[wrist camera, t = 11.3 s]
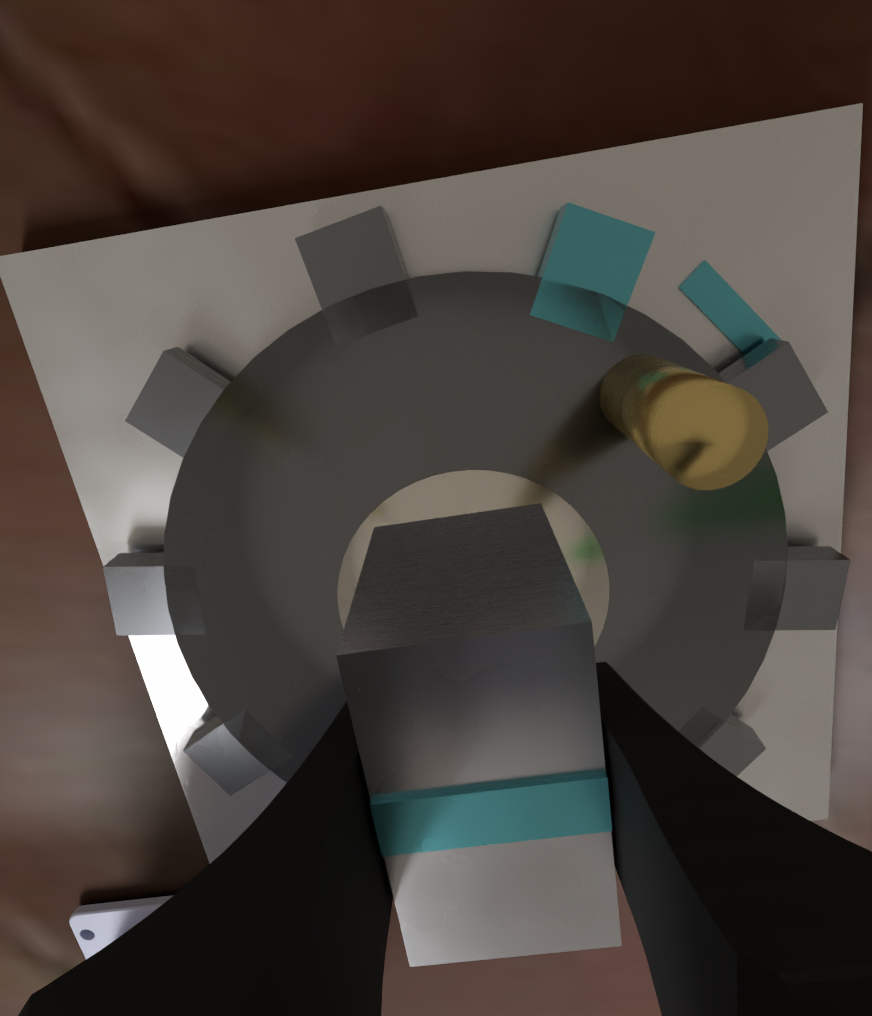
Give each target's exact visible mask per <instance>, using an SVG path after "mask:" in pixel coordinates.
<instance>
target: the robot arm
mask: <svg viewBox="0 0 872 1016" xmlns="http://www.w3.org/2000/svg"><path fill="white" fill-rule="evenodd" d="M596 671H597V682H598V693H599V704H600V715H601V726H602V736H603V747H604V758H605V769H606V775H607V778H608V789H609V800H610V811H611V822H612V831H611V834H612V845H613V856H614V865H615V868H616V870H617V873H618V876H619V879H620V881H621V884H622V887H623V890H624V893H625V895H626V898H627V901H628V904H629V906H630V909H631V912H632V915H633V917H634V920H635V923H636V926H637V929H638V932H639V935H640V938H641V941H642V944H643V947H644V951H645V954H646V957H647V961H648V965H649V968H650V972H651V976H652V980H653V983H654V987H655V991H656V995H657V998H658V1002H659V1006H660V1010H661V1014H662V1016H872V852H871V851H869V850H867V849H865V848H863V847H861V846H858V845H856V844H854V843H852V842H850V841H848V840H846V839H844V838H842V837H840V836H838V835H836V834H834V833H832V832H830V831H828V830H826V829H824V828H822V827H820V826H818V825H817V824H815V823H813V822H811V821H809V820H808V819H806V818H804V817H802V816H800V815H799V814H797V813H795V812H793V811H792V810H790V809H788V808H786V807H784V806H783V805H781V804H779V803H777V802H776V801H774V800H773V799H771V798H769V797H768V796H766V795H764V794H763V793H761V792H759V791H758V790H756V789H755V788H753V787H752V786H750V785H749V784H747V783H746V782H744V781H743V780H741V779H740V778H738V777H737V776H735V775H734V774H732V773H731V772H730V771H728V770H727V769H725V768H724V767H723V766H721V765H720V764H719V763H717V762H716V761H715V760H713V759H712V758H711V757H709V756H708V755H707V754H706V753H704V752H703V751H702V750H701V749H699V748H698V747H697V746H695V745H694V744H693V743H692V742H691V741H689V740H688V739H687V738H686V737H685V736H683V735H682V734H681V733H680V732H679V731H677V730H676V729H675V728H674V727H673V726H672V725H671V724H670V723H669V722H667V721H666V720H665V719H664V718H663V717H662V716H661V715H660V714H658V713H657V712H656V711H655V710H654V709H653V708H652V707H651V706H650V705H649V704H648V703H647V702H646V701H645V700H644V699H643V698H642V697H641V696H639V695H638V694H637V693H636V692H635V691H634V690H633V689H632V688H631V686H630V685H629V684H628V683H627V682H626V681H625V680H624V679H623V678H622V677H621V676H620V675H619V674H618V673H617V672H616V671H615V670H614V668H613V667H612V666H610V665H609V664H608V663H606V662H599V663H596ZM392 900H393V893H392V889H391V885H390V880H389V876H388V872H387V868H386V863H385V859H384V857H382V855H381V850H380V846H379V842H378V838H377V834H376V829H375V825H374V821H373V817H372V813H371V808H370V796H369V792H368V788H367V783H366V779H365V775H364V771H363V767H362V762H361V758H360V754H359V750H358V745H357V741H356V737H355V733H354V729H353V724H352V720H351V716H350V712H349V708H348V703H347V701H346V703H345V704H344V705H343V707H342V708H341V710H340V711H339V713H338V714H337V715H336V717H335V718H334V720H333V721H332V723H331V724H330V726H329V727H328V728H327V730H326V731H325V733H324V734H323V736H322V737H321V738H320V740H319V741H318V743H317V744H316V745H315V747H314V748H313V749H312V751H311V752H310V753H309V755H308V756H307V757H306V759H305V760H304V761H303V763H302V764H301V765H300V767H299V768H298V769H297V771H296V772H295V773H294V775H293V776H292V777H291V778H290V780H289V781H288V782H287V783H286V784H285V786H284V787H283V788H282V789H281V790H280V792H279V793H278V794H277V795H276V796H275V798H274V799H273V800H272V801H271V802H270V804H269V805H268V806H267V807H266V808H265V810H264V811H263V812H262V813H261V814H260V815H259V816H258V817H257V818H256V819H255V820H254V822H253V823H252V824H251V825H250V826H249V827H248V828H247V829H246V830H245V831H244V832H243V833H242V834H241V835H240V836H239V837H238V838H237V839H236V840H235V841H234V842H233V843H232V844H231V845H230V846H229V847H228V848H227V849H226V850H225V851H224V852H223V853H222V854H220V855H219V856H218V857H217V858H216V859H215V860H214V861H213V862H211V863H210V864H209V865H208V866H207V867H206V868H205V869H203V870H202V871H201V872H200V873H199V874H198V875H197V876H195V877H194V878H193V879H192V880H191V881H190V882H189V883H188V884H186V885H185V886H184V887H183V888H182V889H181V890H180V891H178V892H177V893H176V894H175V895H172V896H163V897H154V898H144V899H135V900H126V901H117V902H108V903H99V904H90V905H83V906H79V907H77V908H76V909H75V910H74V912H73V914H72V915H71V917H70V920H69V922H70V926H71V928H72V930H73V932H74V935H75V937H76V939H77V941H78V943H79V945H80V947H81V950H82V952H83V954H84V956H85V958H86V960H85V961H83V962H82V963H80V964H79V965H77V966H76V967H74V968H73V969H71V970H69V971H68V972H66V973H65V974H63V975H62V976H60V977H59V978H57V979H56V980H54V981H53V982H51V983H50V984H48V985H47V986H45V987H43V988H42V989H40V990H38V991H37V992H35V993H34V994H32V995H31V996H30V998H29V999H28V1001H27V1002H26V1004H25V1005H24V1007H23V1009H22V1010H21V1012H20V1014H19V1015H18V1016H381V1004H382V982H383V971H384V961H385V951H386V944H387V936H388V929H389V922H390V914H391V907H392Z"/></svg>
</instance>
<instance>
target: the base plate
mask: <svg viewBox="0 0 872 1016" xmlns="http://www.w3.org/2000/svg"><path fill="white" fill-rule="evenodd" d="M862 113H863V103H860V104H854V105H849V106H843V107H837V108H832V109H826V110H821V111H815V112H809V113H804V114H798V115H792V116H787V117H781V118H776V119H770V120H764V121H759V122H753V123H747V124H742V125H736V126H731V127H725V128H719V129H714V130H708V131H702V132H697V133H691V134H686V135H680V136H674V137H669V138H663V139H657V140H652V141H646V142H641V143H635V144H629V145H624V146H618V147H612V148H607V149H601V150H596V151H590V152H584V153H579V154H573V155H567V156H562V157H556V158H551V159H545V160H539V161H534V162H528V163H522V164H517V165H511V166H506V167H500V168H494V169H489V170H483V171H477V172H472V173H466V174H461V175H455V176H449V177H444V178H438V179H432V180H427V181H421V182H416V183H410V184H404V185H399V186H393V187H387V188H382V189H376V190H371V191H365V192H359V193H354V194H348V195H342V196H337V197H331V198H326V199H320V200H314V201H309V202H303V203H297V204H292V205H286V206H281V207H275V208H269V209H264V210H258V211H252V212H247V213H241V214H236V215H230V216H224V217H219V218H213V219H207V220H202V221H196V222H191V223H185V224H179V225H174V226H168V227H162V228H157V229H151V230H146V231H140V232H134V233H129V234H123V235H117V236H112V237H106V238H101V239H95V240H89V241H84V242H78V243H72V244H67V245H61V246H56V247H50V248H44V249H39V250H33V251H27V252H22V253H16V254H11V255H5V256H0V277H1V279H2V282H3V285H4V288H5V291H6V293H7V296H8V299H9V302H10V305H11V308H12V310H13V313H14V316H15V319H16V322H17V324H18V327H19V330H20V333H21V336H22V338H23V341H24V344H25V347H26V350H27V352H28V355H29V358H30V361H31V364H32V366H33V369H34V372H35V375H36V378H37V381H38V383H39V386H40V389H41V392H42V395H43V397H44V400H45V403H46V406H47V409H48V411H49V414H50V417H51V420H52V423H53V425H54V428H55V431H56V434H57V437H58V440H59V442H60V445H61V448H62V451H63V454H64V456H65V459H66V462H67V465H68V468H69V470H70V473H71V476H72V479H73V482H74V484H75V487H76V490H77V493H78V496H79V498H80V501H81V504H82V507H83V510H84V513H85V515H86V518H87V521H88V524H89V527H90V529H91V532H92V535H93V538H94V541H95V543H96V546H97V549H98V552H99V555H100V557H101V560H102V563H103V566H105V565H106V564H107V563H108V562H109V561H111V560H112V559H113V558H114V557H115V556H116V555H118V554H119V553H164V533H165V527H166V521H167V515H168V509H169V503H170V497H171V494H172V491H173V488H174V485H175V481H176V478H177V475H178V472H179V469H180V466H181V463H182V460H183V457H181V456H179V455H178V454H176V453H175V452H173V451H171V450H170V449H168V448H167V447H165V446H164V445H162V444H160V443H159V442H157V441H156V440H154V439H152V438H151V437H149V436H148V435H146V434H145V433H143V432H141V431H140V430H138V429H137V428H135V427H133V426H132V425H130V424H129V423H127V422H126V421H125V420H126V418H127V416H128V414H129V413H130V411H131V409H132V407H133V405H134V403H135V402H136V400H137V398H138V396H139V394H140V393H141V391H142V389H143V387H144V385H145V383H146V382H147V380H148V378H149V376H150V374H151V373H152V371H153V369H154V367H155V365H156V363H157V362H158V360H159V358H160V356H161V354H162V353H163V351H164V350H168V349H172V348H176V347H180V348H181V349H183V350H184V351H186V352H187V353H189V354H190V355H192V356H193V357H195V358H196V359H198V360H199V361H201V362H202V363H204V364H205V365H207V366H208V367H210V368H211V369H213V370H214V371H216V372H217V373H219V374H220V375H222V376H223V377H225V378H226V379H228V380H229V381H232V380H233V379H234V378H235V377H236V376H237V375H238V374H239V373H240V372H241V371H242V370H243V368H244V367H245V366H246V365H247V364H248V363H249V362H250V361H251V360H252V359H253V358H254V357H255V356H256V355H257V354H259V353H260V352H261V351H262V350H264V349H265V348H266V347H267V346H269V345H270V344H271V343H272V342H274V341H275V340H276V339H277V338H279V337H280V336H281V335H282V334H284V333H285V332H286V331H287V330H289V329H290V328H292V327H294V326H295V325H297V324H299V323H301V322H302V321H304V320H306V319H307V318H309V317H311V316H312V315H314V314H316V313H318V312H319V311H321V310H322V309H321V306H320V303H319V301H318V298H317V295H316V293H315V290H314V288H313V285H312V282H311V280H310V277H309V275H308V272H307V269H306V267H305V264H304V261H303V259H302V256H301V254H300V251H299V248H298V246H297V243H296V241H295V238H297V237H299V236H302V235H305V234H307V233H310V232H312V231H315V230H318V229H320V228H323V227H326V226H328V225H331V224H334V223H336V222H339V221H341V220H344V219H347V218H349V217H352V216H355V215H357V214H360V213H362V212H365V211H368V210H370V209H373V208H376V207H378V206H382V207H383V208H384V209H385V211H386V214H387V217H388V220H389V223H390V226H391V229H392V232H393V235H394V238H395V241H396V244H397V247H398V250H399V253H400V256H401V259H402V262H403V265H404V268H405V271H406V274H407V277H408V279H410V278H414V277H418V276H427V275H436V274H445V273H453V272H462V271H475V272H513V273H519V274H525V275H531V276H538V273H539V270H540V267H541V264H542V261H543V258H544V255H545V253H546V250H547V247H548V244H549V241H550V238H551V235H552V232H553V229H554V226H555V223H556V220H557V217H558V214H559V211H560V208H561V206H563V205H564V204H566V203H568V202H569V203H572V204H575V205H578V206H581V207H584V208H587V209H589V210H592V211H595V212H598V213H601V214H604V215H607V216H610V217H613V218H616V219H619V220H621V221H624V222H627V223H630V224H633V225H636V226H639V227H642V228H645V229H648V230H651V231H654V232H656V233H655V235H654V238H653V241H652V243H651V246H650V248H649V251H648V254H647V256H646V259H645V261H644V264H643V266H642V269H641V272H640V274H639V277H638V279H637V282H636V284H635V287H634V290H633V292H632V295H631V297H630V300H629V302H628V305H627V306H629V307H631V308H633V309H635V310H637V311H639V312H641V313H643V314H645V315H647V316H648V317H650V318H651V319H653V320H654V321H656V322H657V323H659V324H660V325H662V326H663V327H665V328H666V329H668V330H669V331H671V332H672V333H674V334H675V335H676V336H678V337H679V338H681V339H682V340H684V341H685V342H686V343H687V344H688V345H689V346H690V347H691V348H692V349H693V350H694V351H695V352H697V353H698V354H699V355H700V356H701V357H702V358H703V359H704V360H705V361H706V362H707V363H709V364H710V365H711V366H712V367H713V368H714V369H715V370H716V371H717V373H720V372H721V371H723V370H724V369H726V368H727V367H728V366H730V365H731V364H733V363H734V362H736V361H737V360H739V359H740V358H742V357H743V356H745V355H746V354H748V353H749V352H750V351H752V350H753V349H755V348H756V347H758V346H759V345H761V344H762V343H764V342H765V341H767V340H768V339H770V338H772V339H777V340H783V341H788V342H789V343H790V345H791V346H792V348H793V350H794V352H795V354H796V355H797V357H798V359H799V361H800V363H801V364H802V366H803V368H804V370H805V371H806V373H807V375H808V377H809V379H810V380H811V382H812V384H813V386H814V387H815V389H816V391H817V393H818V395H819V396H820V398H821V400H822V402H823V404H824V405H825V407H826V409H827V411H828V413H826V414H825V415H823V416H822V417H820V418H819V419H817V420H815V421H814V422H812V423H811V424H809V425H808V426H806V427H805V428H803V429H801V430H800V431H798V432H797V433H795V434H794V435H792V436H790V437H789V438H787V439H786V440H784V441H783V442H781V443H780V444H778V445H776V446H775V447H773V448H772V449H770V450H769V451H767V452H768V454H769V457H770V460H771V462H772V465H773V467H774V470H775V472H776V475H777V479H778V484H779V488H780V492H781V497H782V501H783V506H784V510H785V517H786V531H787V545H788V547H799V546H831V547H832V548H834V549H835V550H837V551H838V552H839V553H841V542H842V522H843V501H844V481H845V461H846V440H847V420H848V399H849V379H850V359H851V338H852V318H853V297H854V277H855V256H856V236H857V216H858V195H859V175H860V154H861V134H862ZM837 624H838V620H837ZM128 636H129V639H130V642H131V645H132V647H133V650H134V653H135V656H136V659H137V661H138V664H139V667H140V670H141V673H142V675H143V678H144V681H145V684H146V687H147V689H148V692H149V695H150V698H151V701H152V704H153V706H154V709H155V712H156V715H157V718H158V720H159V723H160V726H161V729H162V732H163V734H164V737H165V740H166V743H167V746H168V748H169V751H170V754H171V757H172V760H173V763H174V765H175V768H176V771H177V774H178V777H179V779H180V782H181V785H182V788H183V791H184V793H185V796H186V799H187V802H188V805H189V807H190V810H191V813H192V816H193V819H194V821H195V824H196V827H197V830H198V833H199V836H200V838H201V841H202V844H203V847H204V850H205V852H206V855H207V858H208V861H209V864H210V863H211V862H213V861H214V860H215V859H216V858H217V857H218V856H219V855H220V854H222V853H223V852H224V851H225V850H226V849H227V848H228V847H229V846H230V845H231V844H232V843H233V842H234V841H235V840H236V839H237V838H238V837H239V836H240V835H241V834H242V833H243V832H244V831H245V830H246V829H247V828H248V827H249V826H250V825H251V824H252V823H253V822H254V820H255V819H256V818H257V817H258V816H259V815H260V814H261V813H262V812H263V811H264V810H265V808H266V807H267V806H268V805H269V804H270V802H271V801H272V800H273V799H274V798H275V796H276V795H277V794H278V793H279V792H280V790H281V789H282V788H283V787H284V786H285V784H286V783H287V782H285V781H283V780H282V779H281V778H279V777H278V776H277V775H276V774H274V773H273V772H272V771H271V770H270V771H269V772H267V773H266V774H264V775H263V776H261V777H259V778H258V779H256V780H255V781H253V782H252V783H250V784H249V785H247V786H245V787H244V788H242V789H241V790H239V791H238V792H236V793H234V794H233V795H231V796H230V795H229V794H228V793H227V792H225V791H224V790H223V789H222V788H221V787H220V786H219V785H218V784H217V783H216V782H215V781H214V780H213V779H212V778H211V777H210V776H209V775H207V774H206V773H205V772H204V771H203V770H202V769H201V768H200V767H199V766H198V765H197V764H196V763H195V762H194V761H193V760H192V759H191V758H189V757H188V756H187V755H186V754H185V753H184V752H183V750H184V748H185V746H186V744H187V742H188V741H189V739H190V737H191V735H192V733H193V732H194V730H196V729H197V728H199V727H200V726H201V725H203V724H204V723H206V722H207V721H209V720H210V719H212V718H213V717H215V716H216V714H215V713H214V712H213V710H212V709H211V708H210V706H209V705H208V703H207V702H206V700H205V698H204V696H203V695H202V693H201V691H200V690H199V688H198V686H197V685H196V683H195V681H194V680H193V678H192V676H191V674H190V672H189V669H188V667H187V664H186V662H185V660H184V657H183V655H182V653H181V650H180V648H179V646H178V643H177V640H176V636H175V635H128ZM836 644H837V625H836V630H775V632H774V635H773V637H772V640H771V643H770V645H769V648H768V651H767V653H766V656H765V659H764V661H763V663H762V665H761V666H760V668H759V670H758V672H757V674H756V676H755V678H754V680H753V681H752V683H751V685H750V687H749V689H748V691H747V692H746V694H745V695H744V697H743V698H742V699H741V701H740V702H739V704H738V705H737V706H736V708H735V709H734V711H733V712H732V713H731V714H732V715H734V716H735V717H737V718H738V719H740V720H741V721H743V722H744V723H746V724H747V725H749V726H750V727H752V728H753V730H754V731H755V733H756V734H757V736H758V737H759V739H760V740H761V741H762V743H763V744H764V746H765V747H766V750H765V751H763V752H762V753H761V754H760V755H759V756H758V757H757V758H756V759H755V760H754V761H753V762H752V763H751V764H750V765H748V766H747V767H746V768H745V769H744V770H743V771H742V772H741V773H740V774H739V775H738V776H737V777H738V778H740V779H741V780H743V781H744V782H746V783H747V784H749V785H750V786H752V787H753V788H755V789H756V790H758V791H759V792H761V793H763V794H764V795H766V796H768V797H769V798H771V799H773V800H774V801H776V802H777V803H779V804H781V805H783V806H784V807H786V808H788V809H790V810H792V811H793V812H795V813H797V814H799V815H800V816H802V817H804V818H806V819H808V820H809V821H813V820H822V819H828V808H829V787H830V767H831V746H832V726H833V706H834V685H835V665H836Z"/></svg>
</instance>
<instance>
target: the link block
mask: <svg viewBox="0 0 872 1016" xmlns="http://www.w3.org/2000/svg"><path fill="white" fill-rule="evenodd" d="M336 657H337V661H338V665H339V670H340V674H341V678H342V682H343V686H344V691H345V695H346V699H347V703H348V708H349V712H350V716H351V720H352V724H353V729H354V733H355V737H356V741H357V745H358V750H359V754H360V758H361V762H362V767H363V771H364V775H365V779H366V783H367V788H368V792H369V796H370V808H371V813H372V817H373V821H374V825H375V829H376V834H377V838H378V842H379V846H380V850H381V855H382V857H384V859H385V863H386V868H387V872H388V876H389V880H390V885H391V889H392V893H393V897H394V901H395V906H396V910H397V914H398V918H399V922H400V927H401V931H402V935H403V939H404V944H405V948H406V952H407V956H408V960H409V965H410V967H414V966H424V965H434V964H445V963H455V962H465V961H475V960H485V959H495V958H505V957H515V956H525V955H535V954H545V953H555V952H565V951H575V950H586V949H596V948H606V947H616V946H622V943H621V932H620V922H619V911H618V900H617V889H616V878H615V867H614V856H613V845H612V834H611V831H612V822H611V811H610V800H609V789H608V778H607V775H606V769H605V758H604V747H603V736H602V726H601V715H600V704H599V693H598V682H597V671H596V660H595V649H594V638H593V627H592V621H591V618H590V616H589V614H588V611H587V609H586V607H585V604H584V602H583V600H582V597H581V595H580V593H579V590H578V588H577V586H576V583H575V581H574V579H573V576H572V574H571V572H570V569H569V567H568V565H567V562H566V560H565V558H564V555H563V553H562V551H561V549H560V546H559V544H558V542H557V539H556V537H555V535H554V532H553V530H552V528H551V525H550V523H549V521H548V518H547V516H546V514H545V511H544V509H543V507H542V504H541V503H538V504H532V505H525V506H518V507H511V508H504V509H497V510H490V511H483V512H476V513H469V514H462V515H455V516H448V517H441V518H434V519H427V520H420V521H413V522H407V523H400V524H393V525H386V526H379V527H374V529H373V533H372V536H371V539H370V543H369V546H368V550H367V553H366V556H365V560H364V563H363V566H362V570H361V573H360V577H359V580H358V583H357V587H356V590H355V593H354V597H353V600H352V604H351V607H350V610H349V614H348V617H347V620H346V624H345V627H344V631H343V634H342V637H341V641H340V644H339V647H338V651H337V654H336Z"/></svg>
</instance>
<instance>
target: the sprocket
mask: <svg viewBox="0 0 872 1016" xmlns="http://www.w3.org/2000/svg"><path fill="white" fill-rule="evenodd" d="M655 233H656V232H654V231H651V230H648V229H645V228H642V227H639V226H636V225H633V224H630V223H627V222H624V221H621V220H619V219H616V218H613V217H610V216H607V215H604V214H601V213H598V212H595V211H592V210H589V209H587V208H584V207H581V206H578V205H575V204H572V203H569V202H568V203H566V204H564V205H563V206H561V208H560V211H559V214H558V217H557V220H556V223H555V226H554V229H553V232H552V235H551V238H550V241H549V244H548V247H547V250H546V253H545V255H544V258H543V261H542V264H541V267H540V270H539V273H538V276H531V275H525V274H519V273H513V272H475V271H462V272H453V273H445V274H436V275H427V276H418V277H414V278H410V279H408V277H407V274H406V271H405V268H404V265H403V262H402V259H401V256H400V253H399V250H398V247H397V244H396V241H395V238H394V235H393V232H392V229H391V226H390V223H389V220H388V217H387V214H386V211H385V209H384V208H383V207H382V206H378V207H376V208H373V209H370V210H368V211H365V212H362V213H360V214H357V215H355V216H352V217H349V218H347V219H344V220H341V221H339V222H336V223H334V224H331V225H328V226H326V227H323V228H320V229H318V230H315V231H312V232H310V233H307V234H305V235H302V236H299V237H297V238H295V241H296V243H297V246H298V248H299V251H300V254H301V256H302V259H303V261H304V264H305V267H306V269H307V272H308V275H309V277H310V280H311V282H312V285H313V288H314V290H315V293H316V295H317V298H318V301H319V303H320V306H321V309H322V310H321V311H319V312H318V313H316V314H314V315H312V316H311V317H309V318H307V319H306V320H304V321H302V322H301V323H299V324H297V325H295V326H294V327H292V328H290V329H289V330H287V331H286V332H285V333H284V334H282V335H281V336H280V337H279V338H277V339H276V340H275V341H274V342H272V343H271V344H270V345H269V346H267V347H266V348H265V349H264V350H262V351H261V352H260V353H259V354H257V355H256V356H255V357H254V358H253V359H252V360H251V361H250V362H249V363H248V364H247V365H246V366H245V367H244V368H243V370H242V371H241V372H240V373H239V374H238V375H237V376H236V377H235V378H234V379H233V380H232V381H229V380H228V379H226V378H225V377H223V376H222V375H220V374H219V373H217V372H216V371H214V370H213V369H211V368H210V367H208V366H207V365H205V364H204V363H202V362H201V361H199V360H198V359H196V358H195V357H193V356H192V355H190V354H189V353H187V352H186V351H184V350H183V349H181V348H180V347H176V348H172V349H168V350H164V351H163V353H162V354H161V356H160V358H159V360H158V362H157V363H156V365H155V367H154V369H153V371H152V373H151V374H150V376H149V378H148V380H147V382H146V383H145V385H144V387H143V389H142V391H141V393H140V394H139V396H138V398H137V400H136V402H135V403H134V405H133V407H132V409H131V411H130V413H129V414H128V416H127V418H126V420H125V421H126V422H127V423H129V424H130V425H132V426H133V427H135V428H137V429H138V430H140V431H141V432H143V433H145V434H146V435H148V436H149V437H151V438H152V439H154V440H156V441H157V442H159V443H160V444H162V445H164V446H165V447H167V448H168V449H170V450H171V451H173V452H175V453H176V454H178V455H179V456H181V457H183V460H182V463H181V466H180V469H179V472H178V475H177V478H176V481H175V485H174V488H173V491H172V494H171V497H170V503H169V509H168V515H167V521H166V527H165V533H164V553H119V554H118V555H116V556H115V557H114V558H113V559H112V560H111V561H109V562H108V563H107V564H106V565H105V566H103V570H104V575H105V580H106V585H107V590H108V595H109V599H110V604H111V609H112V614H113V619H114V624H115V629H116V634H117V635H175V636H176V640H177V643H178V646H179V648H180V650H181V653H182V655H183V657H184V660H185V662H186V664H187V667H188V669H189V672H190V674H191V676H192V678H193V680H194V681H195V683H196V685H197V686H198V688H199V690H200V691H201V693H202V695H203V696H204V698H205V700H206V702H207V703H208V705H209V706H210V708H211V709H212V710H213V712H214V713H215V714H216V716H215V717H213V718H212V719H210V720H209V721H207V722H206V723H204V724H203V725H201V726H200V727H199V728H197V729H196V730H194V732H193V733H192V735H191V737H190V739H189V741H188V742H187V744H186V746H185V748H184V750H183V752H184V753H185V754H186V755H187V756H188V757H189V758H191V759H192V760H193V761H194V762H195V763H196V764H197V765H198V766H199V767H200V768H201V769H202V770H203V771H204V772H205V773H206V774H207V775H209V776H210V777H211V778H212V779H213V780H214V781H215V782H216V783H217V784H218V785H219V786H220V787H221V788H222V789H223V790H224V791H225V792H227V793H228V794H229V795H230V796H231V795H233V794H234V793H236V792H238V791H239V790H241V789H242V788H244V787H245V786H247V785H249V784H250V783H252V782H253V781H255V780H256V779H258V778H259V777H261V776H263V775H264V774H266V773H267V772H269V771H270V770H271V771H272V772H273V773H274V774H276V775H277V776H278V777H279V778H281V779H282V780H283V781H285V782H288V781H289V780H290V778H291V777H292V776H293V775H294V773H295V772H296V771H297V769H298V768H299V767H300V765H301V764H302V763H303V761H304V760H305V759H306V757H307V756H308V755H309V753H310V752H311V751H312V749H313V748H314V747H315V745H316V744H317V743H318V741H319V740H320V738H321V737H322V736H323V734H324V733H325V731H326V730H327V728H328V727H329V726H330V724H331V723H332V721H333V720H334V718H335V717H336V715H337V714H338V713H339V711H340V710H341V708H342V707H343V705H344V704H345V703H346V701H347V699H346V695H345V691H344V686H343V682H342V678H341V674H340V670H339V665H338V661H337V657H336V654H337V651H338V647H339V644H340V641H341V637H342V634H343V631H344V627H345V624H346V620H347V617H348V614H349V610H350V607H351V604H352V600H353V597H354V593H355V590H356V587H357V583H358V580H359V577H360V573H361V570H362V566H363V563H364V560H365V556H366V553H367V550H368V546H369V543H370V539H371V536H372V533H373V529H374V527H379V526H386V525H393V524H400V523H407V522H413V521H420V520H427V519H434V518H441V517H448V516H455V515H462V514H469V513H476V512H483V511H490V510H497V509H504V508H511V507H518V506H525V505H532V504H538V503H541V504H542V507H543V509H544V511H545V514H546V516H547V518H548V521H549V523H550V525H551V528H552V530H553V532H554V535H555V537H556V539H557V542H558V544H559V546H560V549H561V551H562V553H563V555H564V558H565V560H566V562H567V565H568V567H569V569H570V572H571V574H572V576H573V579H574V581H575V583H576V586H577V588H578V590H579V593H580V595H581V597H582V600H583V602H584V604H585V607H586V609H587V611H588V614H589V616H590V618H591V621H592V627H593V638H594V649H595V660H596V663H599V662H606V663H608V664H609V665H610V666H612V667H613V668H614V670H615V671H616V672H617V673H618V674H619V675H620V676H621V677H622V678H623V679H624V680H625V681H626V682H627V683H628V684H629V685H630V686H631V688H632V689H633V690H634V691H635V692H636V693H637V694H638V695H639V696H641V697H642V698H643V699H644V700H645V701H646V702H647V703H648V704H649V705H650V706H651V707H652V708H653V709H654V710H655V711H656V712H657V713H658V714H660V715H661V716H662V717H663V718H664V719H665V720H666V721H667V722H669V723H670V724H671V725H672V726H673V727H674V728H675V729H676V730H677V731H679V732H680V733H681V734H682V735H683V736H685V737H686V738H687V739H688V740H689V741H691V742H692V743H693V744H694V745H695V746H697V747H698V748H699V749H701V750H702V751H703V752H704V753H706V754H707V755H708V756H709V757H711V758H712V759H713V760H715V761H716V762H717V763H719V764H720V765H721V766H723V767H724V768H725V769H727V770H728V771H730V772H731V773H732V774H734V775H735V776H738V775H739V774H740V773H741V772H742V771H743V770H744V769H745V768H746V767H747V766H748V765H750V764H751V763H752V762H753V761H754V760H755V759H756V758H757V757H758V756H759V755H760V754H761V753H762V752H763V751H765V750H766V747H765V746H764V744H763V743H762V741H761V740H760V739H759V737H758V736H757V734H756V733H755V731H754V730H753V728H752V727H750V726H749V725H747V724H746V723H744V722H743V721H741V720H740V719H738V718H737V717H735V716H734V715H732V714H731V713H732V712H733V711H734V709H735V708H736V706H737V705H738V704H739V702H740V701H741V699H742V698H743V697H744V695H745V694H746V692H747V691H748V689H749V687H750V685H751V683H752V681H753V680H754V678H755V676H756V674H757V672H758V670H759V668H760V666H761V665H762V663H763V661H764V659H765V656H766V653H767V651H768V648H769V645H770V643H771V640H772V637H773V635H774V632H775V630H836V625H837V620H838V615H839V611H840V606H841V601H842V597H843V592H844V587H845V582H846V578H847V573H848V568H849V563H850V560H849V559H848V558H847V557H845V556H844V555H842V554H841V553H839V552H838V551H837V550H835V549H834V548H832V547H831V546H799V547H788V545H787V531H786V517H785V510H784V506H783V501H782V497H781V492H780V488H779V484H778V479H777V475H776V472H775V470H774V467H773V465H772V462H771V460H770V457H769V454H768V452H767V451H769V450H770V449H772V448H773V447H775V446H776V445H778V444H780V443H781V442H783V441H784V440H786V439H787V438H789V437H790V436H792V435H794V434H795V433H797V432H798V431H800V430H801V429H803V428H805V427H806V426H808V425H809V424H811V423H812V422H814V421H815V420H817V419H819V418H820V417H822V416H823V415H825V414H826V413H828V411H827V409H826V407H825V405H824V404H823V402H822V400H821V398H820V396H819V395H818V393H817V391H816V389H815V387H814V386H813V384H812V382H811V380H810V379H809V377H808V375H807V373H806V371H805V370H804V368H803V366H802V364H801V363H800V361H799V359H798V357H797V355H796V354H795V352H794V350H793V348H792V346H791V345H790V343H789V342H788V341H783V340H777V339H772V338H770V339H768V340H767V341H765V342H764V343H762V344H761V345H759V346H758V347H756V348H755V349H753V350H752V351H750V352H749V353H748V354H746V355H745V356H743V357H742V358H740V359H739V360H737V361H736V362H734V363H733V364H731V365H730V366H728V367H727V368H726V369H724V370H723V371H721V372H720V373H717V371H716V370H715V369H714V368H713V367H712V366H711V365H710V364H709V363H707V362H706V361H705V360H704V359H703V358H702V357H701V356H700V355H699V354H698V353H697V352H695V351H694V350H693V349H692V348H691V347H690V346H689V345H688V344H687V343H686V342H685V341H684V340H682V339H681V338H679V337H678V336H676V335H675V334H674V333H672V332H671V331H669V330H668V329H666V328H665V327H663V326H662V325H660V324H659V323H657V322H656V321H654V320H653V319H651V318H650V317H648V316H647V315H645V314H643V313H641V312H639V311H637V310H635V309H633V308H631V307H629V306H627V305H628V302H629V300H630V297H631V295H632V292H633V290H634V287H635V284H636V282H637V279H638V277H639V274H640V272H641V269H642V266H643V264H644V261H645V259H646V256H647V254H648V251H649V248H650V246H651V243H652V241H653V238H654V235H655Z"/></svg>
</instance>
